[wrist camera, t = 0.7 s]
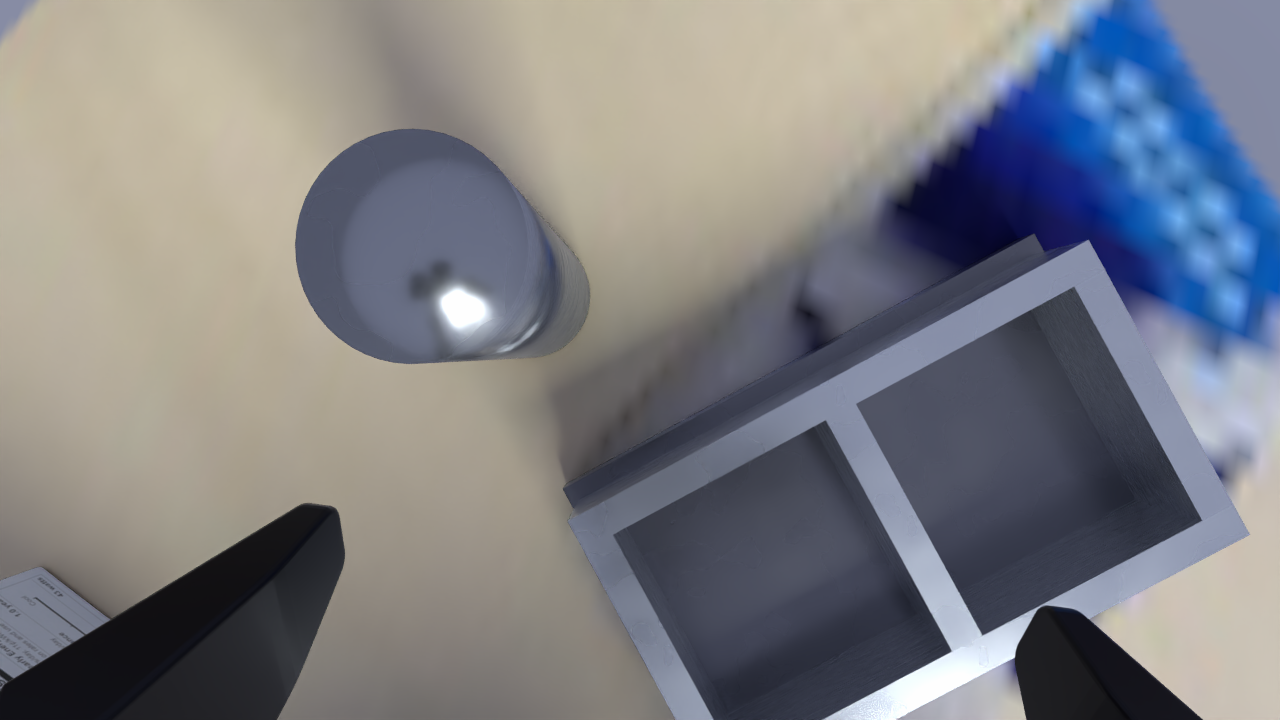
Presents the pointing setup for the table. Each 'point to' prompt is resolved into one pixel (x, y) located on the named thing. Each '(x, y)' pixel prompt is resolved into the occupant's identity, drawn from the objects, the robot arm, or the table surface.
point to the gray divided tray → (905, 500)
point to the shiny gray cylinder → (434, 256)
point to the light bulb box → (39, 620)
